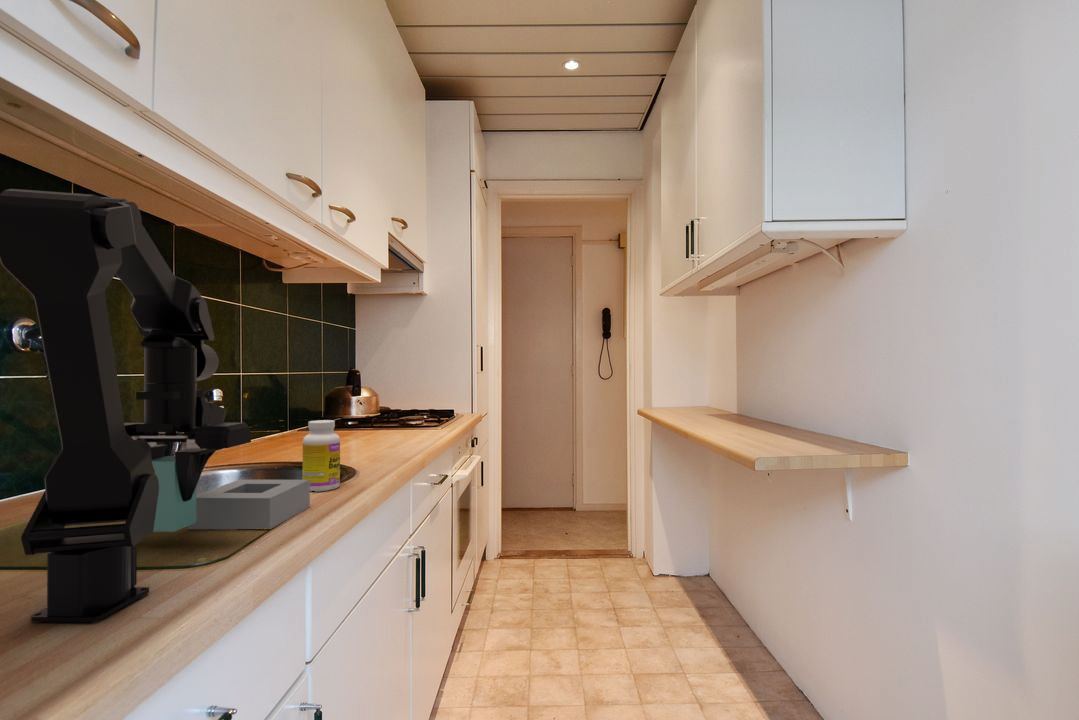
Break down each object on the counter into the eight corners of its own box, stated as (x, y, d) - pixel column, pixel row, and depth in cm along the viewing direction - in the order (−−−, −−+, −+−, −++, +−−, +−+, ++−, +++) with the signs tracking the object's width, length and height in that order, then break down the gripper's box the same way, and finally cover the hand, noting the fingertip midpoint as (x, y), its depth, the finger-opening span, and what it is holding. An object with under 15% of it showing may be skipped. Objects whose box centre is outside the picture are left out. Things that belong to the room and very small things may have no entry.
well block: (269, 529, 75) (269, 498, 75) (188, 529, 75) (188, 497, 75) (309, 506, 87) (309, 479, 87) (239, 506, 87) (239, 479, 87)
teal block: (174, 531, 67) (174, 461, 67) (144, 531, 67) (144, 461, 67) (196, 522, 71) (196, 456, 71) (167, 522, 71) (167, 456, 71)
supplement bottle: (331, 492, 96) (331, 423, 96) (295, 492, 96) (295, 423, 97) (345, 484, 103) (345, 419, 103) (312, 484, 103) (312, 419, 103)
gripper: (273, 380, 77) (273, 486, 77) (150, 381, 78) (150, 486, 78) (224, 383, 66) (224, 507, 66) (81, 384, 67) (81, 506, 66)
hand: (171, 500), depth 69 cm, fingers closed on teal block, 4 cm apart
